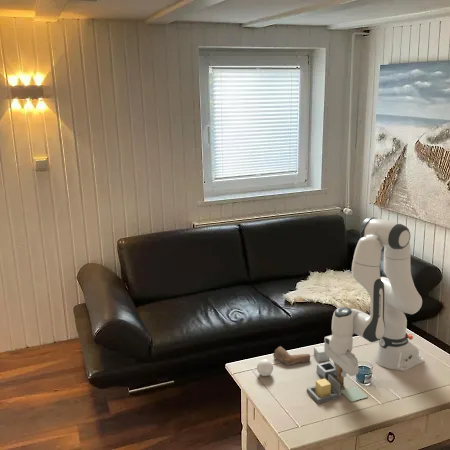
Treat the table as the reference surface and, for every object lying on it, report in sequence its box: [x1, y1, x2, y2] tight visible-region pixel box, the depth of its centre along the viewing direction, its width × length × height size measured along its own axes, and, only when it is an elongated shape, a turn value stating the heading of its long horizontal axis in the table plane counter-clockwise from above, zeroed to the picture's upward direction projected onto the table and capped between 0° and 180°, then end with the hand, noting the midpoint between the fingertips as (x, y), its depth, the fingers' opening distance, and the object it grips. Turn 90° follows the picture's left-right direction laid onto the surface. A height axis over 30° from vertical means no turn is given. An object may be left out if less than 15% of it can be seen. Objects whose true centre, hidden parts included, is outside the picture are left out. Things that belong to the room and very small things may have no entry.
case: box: [306, 374, 342, 404], centre depth 216 cm, size 11×9×6 cm
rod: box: [336, 365, 345, 387], centre depth 222 cm, size 3×3×10 cm
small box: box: [313, 345, 330, 363], centre depth 244 cm, size 6×6×5 cm
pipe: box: [272, 345, 311, 366], centre depth 242 cm, size 6×17×10 cm
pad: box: [340, 386, 368, 403], centre depth 217 cm, size 8×8×1 cm
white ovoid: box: [252, 358, 274, 377], centre depth 230 cm, size 10×7×7 cm
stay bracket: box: [316, 360, 337, 381], centre depth 230 cm, size 7×7×4 cm
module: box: [314, 378, 331, 398], centre depth 216 cm, size 4×4×6 cm
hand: (340, 373), depth 222 cm, fingers closed on rod, 3 cm apart
